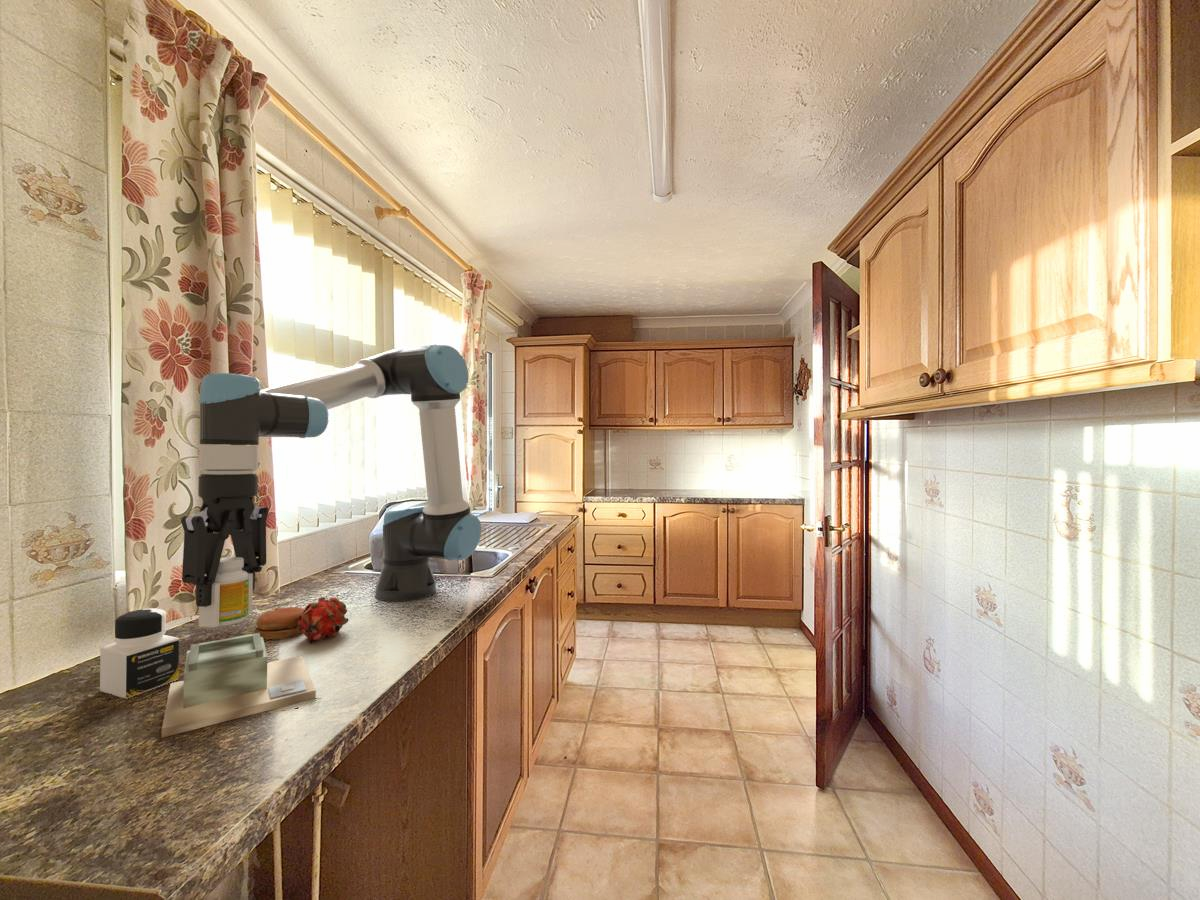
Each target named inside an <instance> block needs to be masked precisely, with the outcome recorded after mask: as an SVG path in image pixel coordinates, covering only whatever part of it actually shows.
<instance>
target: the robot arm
mask: <svg viewBox="0 0 1200 900" xmlns="http://www.w3.org/2000/svg"><path fill="white" fill-rule="evenodd" d="M468 383H469V368H468V365H467V363H466V361H465V359H464V357H463V355H462V354H461V353H460V351H458V350H457V349H456V348H454V347H453V346H450V345H448V344H447V345H444V344H442V345H441V344H438V345H437V344H432V345H431V344H430V345H423V346H422V345H420V346H410V347H400V348H399V347H398V348H395V349H391V350H387V351H385V352H382V353H378V354H375V355H373V356H369V357H367V358H362V359H359V360H357V361H356V362H355V363H354V365H353V366H349V367H345V368H342V369H337V370H334V371H330V372H326V373H322V374H317V375H315V376H310V377H307V378H302V379H300V380H299V379H298V380H295V381H290V382H287V383H283V384H280V385H275V386H272V387H268V388H264V389H261V384H260V380H259V378H257V377H255V376H250V375H247V374H240V373H229V372H228V373H227V372H225V373H224V372H214V373H208V374H205V375H204V376H203V377H202V379H201V385H200V392H199V400H198V404H199V452H198V453H199V455H198V460H199V461H198V463H199V464H198V470H201V471H203V473H202V474H200V476H198V492H197V493H198V497H199V498H201V499H202V504H201V506H200V509H199V512H196V513H194V514H193V515H184V516H182V517H181V519H180V523H181V526H182V529H183V533H184V534H183V536H184V537H183V549H182V551H183V554H182V572H181V581H182V583H184V584H191V585H195V588H196V589H195V590H196V591H195V596H196V597H195V604H196V606H197V607H198V627H200V628H201V627H202V628H217V627H220V626H219V605H220V583H214V582H215V578H216V574H217V570H218V566H219V563H220V559H221V558H222V554H223V550H224V546H225V542H226V540H227V539H229V537H231V543H232V546H233V551H234V554H235V557H242V558H243V559H244V565H243V566H244V567H243V568H242V570H243V571H246V572H247V573H248V575H249V592H248V615H251V614H253V593H254V592H253V591H255V587H256V573H260V572H261V571H262V570H263V567H262V566H265V565H266V564H267V519H268V515H269V511H270V510H269V509H270V508H268V507H265V506H263V507H262V506H256V505H255V501H254V498H253V497H256V496H257V495H258V494H259V493H258V492H259V489H258V488H259V475H257V473H255V471H257V470H259V456H260V455H259V454H260V453H259V450H260V449H259V448H260V447H259V445H260V442H259V441H260V437H262V438H263V437H264V438H299V439H305V438H317V437H319V436H320V435H322V434H323V433H324V432H325V431H326V429H327V427H328V425H329V410H331V409H334V408H337V407H340V406H342V405H345V404H349V403H351V402H354V401H357V400H360V399H363V398H369V399H377V398H379V397H383V396H389V395H390V396H393V395H395V396H396V395H410V401H411V403H412V404H413V405H414V407H415V408H417V409H418V412H419V413H418V415H419V426H420V435H421V444H422V445H421V446H422V455H423V463H424V475H425V484H426V487H425V488H426V495H427V504H426V505H420V506H410V507H402V508H395V509H390V510H387V511H386V512H385V513H384V515H383V524H382V568H381V571H380V574H379V576H378V580H377V582H376V585H375V589H374V590H375V594H374V596H375V598H376V599H378V600H381V601H387V602H406V601H414V600H418V599H419V600H420V599H425V598H427V597H430V596H432V595H433V594H435V593H436V591H437V590H436V589H437V584H436V579H435V576H434V573H433V570H432V568H431V564H430V558H432V559H433V558H434V559H440V560H446V561H464V560H465V559H468V558H470V557H471V555H472V554H474V552H475V551H476V549H477V547H478V546H479V543H480V539H481V536H482V524H481V521H480V519H479V518H478V516H476V515H474V514H471V506H470V503H469V502H467V501H466V500H465V499H464V495H463V485H462V472H461V463H460V452H459V451H460V450H459V448H460V447H459V439H458V427H457V415H456V406H457V404H458V403H459V402H460V401H461V393H462V392H463V391H465V390H466V388H467V386H468Z"/></svg>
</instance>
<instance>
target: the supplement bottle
mask: <svg viewBox="0 0 1200 900" xmlns="http://www.w3.org/2000/svg"><path fill="white" fill-rule="evenodd" d="M243 565H244V559H243V558H242V557H236V556H230V557H229V556H228V557H221V559H220V563H219V566H218V570H217V574H216V578H215V582H214V583H220V605H219V626H218V627H225V626H231V625H235V624H238V623H241V622H244V621H245V620H247V618H249V614H248V592H249V575H248V573H247V572H246V571H243V570H242V568H243V567H244V566H243Z"/></svg>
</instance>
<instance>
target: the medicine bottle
mask: <svg viewBox="0 0 1200 900" xmlns="http://www.w3.org/2000/svg"><path fill="white" fill-rule="evenodd" d="M166 625H167V612H166V611H165V610H163V609H161V608H155V607H154V608H153V607H152V608H142V609H136V610H133V611H132V610H131V611H128V612H125V613H124V614H122V615H120V616H118V617H117V618H116V619H115V621H114V642H113V643H110V644H107V645H106V644H105V645H103V646H102V647H100V649H99V650H100V653H99V654H100V656H99V657H100V661H99V662H100V663H99V665H100V666H99V673H100V674H99V676H100V677H99V691H100V692H102V693H106V694H108V695H111V694H112V696H115V697H118V698H122V699H124V698H125V700H128V698H129V699H131V697H132V698H134V697H133V696H135V695H137V696H139V695H138V694H140V695H142V694H144V693H143V692H145V693H147V692H146V691H148V692H150V691H153V690H156V689H158V688H161V687H163V685H164V686H166V685H169V684H171V683H170V682H172V683H174V682H177V681H178V680H179V678H180V677H179V675H180V671H179V670H180V664H179V663H180V660H179V659H180V638H179V637H176V636H171V635H167V634H166V631H167V628H166V627H167V626H166ZM176 680H177V681H176ZM173 681H174V682H173ZM168 683H169V684H168ZM165 684H166V685H165ZM160 686H161V687H160ZM157 687H158V688H157ZM155 688H156V689H155ZM152 689H153V690H152ZM149 690H150V691H149ZM141 693H142V694H141ZM135 697H136V696H135Z"/></svg>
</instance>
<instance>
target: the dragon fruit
mask: <svg viewBox="0 0 1200 900" xmlns="http://www.w3.org/2000/svg"><path fill="white" fill-rule="evenodd" d="M304 609H305V610H304V611H303V613H302V614H301V615H300V617H299V619H298V623H299V631H302V633H301V634H303V635H304V636H305V637H306V638H307V641H308V643H309V644H311V643H313V642H318V641H320V640H323V639H325V637H326V636H328V637H329V638H332V639H333V638H334V637H335V636H337V635H338V634H339V633H340V630H341V629H342V628H343V627H344V625H346V624H347V623H348V622H349V619H350V618H348V617H345V616H346V614H347V612H348V609H347V605H346V604H345V603H344V602H343V601H341V600H339V598H337V597H335V596H334V597H330V598H328V599H326V598H325V597H324V596H323V597H319V598H318V601H317V602H312V603H308V604H306V606H305V608H304Z"/></svg>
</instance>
